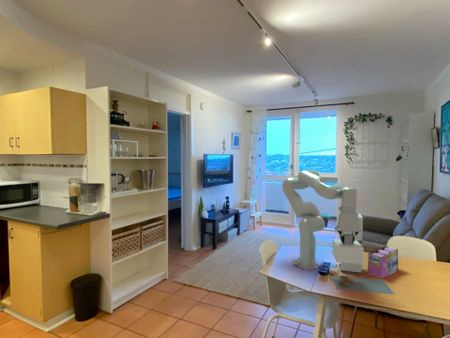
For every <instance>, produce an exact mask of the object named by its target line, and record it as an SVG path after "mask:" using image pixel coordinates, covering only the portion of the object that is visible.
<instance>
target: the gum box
mask: <svg viewBox="0 0 450 338" xmlns="http://www.w3.org/2000/svg"><path fill="white" fill-rule="evenodd" d="M367 254H368V255H367V257H368V258H367V275H369V276H372V277H374V278H375V277H376V278H379V279H382V278H384V279H385V278H387V277H389V276H391V275H392V274H394V273H396V272H398V271H399V248H396V249H395V248H392V247H390V246H388V245H386V246H383V247H381V248H378V249H376V250H373V251H371V252H369V253H367Z"/></svg>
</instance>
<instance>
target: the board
mask: <svg viewBox="0 0 450 338" xmlns="http://www.w3.org/2000/svg"><path fill="white" fill-rule="evenodd" d="M339 278H340V276H335V275H331V279H332V281H333V284H334V286H335V288H336V290H343V291H353V292H355V291H356V292H364V293H375V294H388V295H395V292H394V291H393V290H392V289H391V288H390V286H389V285H388V284H387V283H386V282H385V281H384V279H383V280H382V279H370V278H361V277H360V278H358V277H355V278H354V283H349V287H347V286H341V285H340V283H339Z"/></svg>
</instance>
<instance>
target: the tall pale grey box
mask: <svg viewBox="0 0 450 338" xmlns="http://www.w3.org/2000/svg"><path fill="white" fill-rule="evenodd" d="M358 218H359V227H360V229H361V230H362V232H360V233H358V234H357V235H356V236H355V241H358V242H359V244H360V245H361V246H362V247H363V229H364V227H363V225H364V223H363V221H364V217H363V216H362V214H361V213H358ZM340 231H341V230H340ZM344 233H347V234H351V235H352V232H351V231H344ZM339 240H341V235H340V234H339ZM362 266H363V264H354V263H342V262H340V263H339V264H338V267H339V270H340V272H341V273H346V274H347V273H348V274H355V275H363V273H362V268H363V267H362Z"/></svg>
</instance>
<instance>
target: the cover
mask: <svg viewBox="0 0 450 338" xmlns="http://www.w3.org/2000/svg"><path fill="white" fill-rule="evenodd" d="M352 239H353V236H352V235H351V234H347V233H344V243H342V241H341V240H340V238H339V239H338V238H337V239H335V238H332V252H331V253H332V256H333V258H334V260H335V262H336V263H341V262H342V263H354V264H362V265H364V254H365V252H364V249H365V248H364V247H363V245H362V246H361V245H360V244H359V242H358V241H354V242H353V244H352Z"/></svg>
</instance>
